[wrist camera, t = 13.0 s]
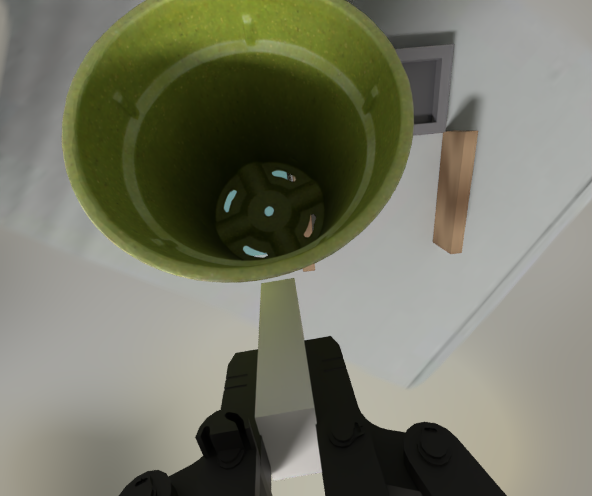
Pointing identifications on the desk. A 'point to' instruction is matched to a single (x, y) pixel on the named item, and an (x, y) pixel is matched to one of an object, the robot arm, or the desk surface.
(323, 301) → the desk surface
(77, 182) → the plant pot
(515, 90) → the desk surface
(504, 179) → the desk surface
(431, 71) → the tray
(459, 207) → the channel
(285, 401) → the robot arm
